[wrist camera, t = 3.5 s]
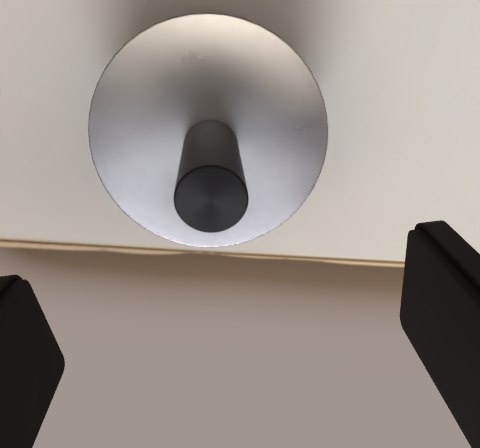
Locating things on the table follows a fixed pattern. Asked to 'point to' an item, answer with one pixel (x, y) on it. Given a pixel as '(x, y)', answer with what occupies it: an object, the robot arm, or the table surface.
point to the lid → (208, 129)
